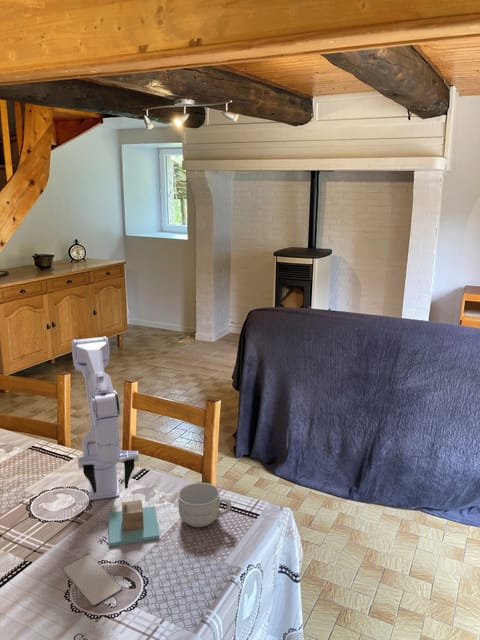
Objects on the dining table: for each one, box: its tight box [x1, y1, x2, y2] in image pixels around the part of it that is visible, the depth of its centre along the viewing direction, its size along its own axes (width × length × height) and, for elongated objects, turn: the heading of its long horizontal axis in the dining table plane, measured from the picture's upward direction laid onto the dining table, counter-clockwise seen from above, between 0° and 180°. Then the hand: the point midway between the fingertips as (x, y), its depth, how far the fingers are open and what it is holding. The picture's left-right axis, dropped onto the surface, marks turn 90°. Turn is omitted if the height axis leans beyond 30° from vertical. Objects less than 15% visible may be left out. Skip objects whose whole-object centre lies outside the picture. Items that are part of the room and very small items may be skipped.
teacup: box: [177, 482, 232, 528], centre depth 131 cm, size 14×11×8 cm
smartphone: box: [61, 553, 123, 608], centre depth 113 cm, size 7×1×15 cm
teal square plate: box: [108, 505, 161, 548], centre depth 130 cm, size 12×12×1 cm
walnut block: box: [121, 499, 144, 532], centre depth 129 cm, size 5×5×5 cm
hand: (110, 488), depth 130 cm, fingers open, 7 cm apart
